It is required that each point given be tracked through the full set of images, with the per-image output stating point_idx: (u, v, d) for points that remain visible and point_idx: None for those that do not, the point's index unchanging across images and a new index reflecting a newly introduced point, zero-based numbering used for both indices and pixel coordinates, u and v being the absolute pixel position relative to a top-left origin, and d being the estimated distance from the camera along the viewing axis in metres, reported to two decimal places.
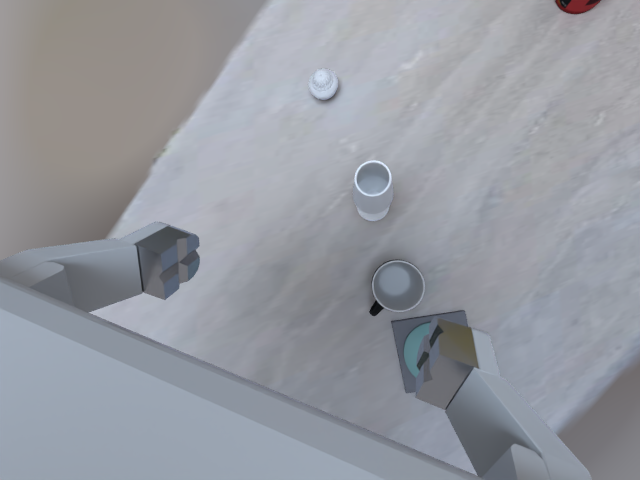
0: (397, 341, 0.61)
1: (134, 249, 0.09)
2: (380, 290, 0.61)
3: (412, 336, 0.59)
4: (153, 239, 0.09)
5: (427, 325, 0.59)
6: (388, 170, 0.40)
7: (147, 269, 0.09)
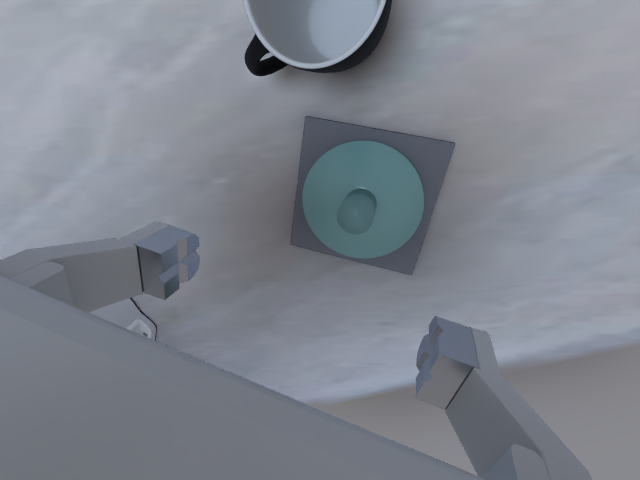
0: (303, 158, 0.31)
1: (134, 249, 0.09)
2: (301, 31, 0.26)
3: (330, 156, 0.29)
4: (153, 239, 0.09)
5: (367, 144, 0.28)
6: None
7: (147, 269, 0.09)
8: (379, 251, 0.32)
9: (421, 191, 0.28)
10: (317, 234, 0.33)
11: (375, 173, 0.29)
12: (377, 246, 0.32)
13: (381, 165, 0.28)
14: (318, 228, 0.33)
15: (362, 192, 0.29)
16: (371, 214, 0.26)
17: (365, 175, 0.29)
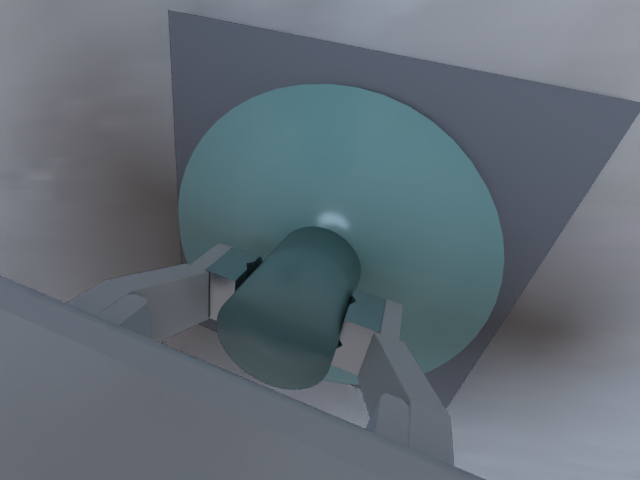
0: (182, 135, 0.12)
1: (205, 275, 0.09)
2: None
3: (232, 132, 0.10)
4: (223, 264, 0.09)
5: (334, 97, 0.09)
6: None
7: (217, 295, 0.09)
8: None
9: (497, 252, 0.09)
10: None
11: (359, 188, 0.10)
12: None
13: (378, 164, 0.09)
14: None
15: (316, 244, 0.09)
16: (325, 346, 0.07)
17: (329, 191, 0.10)
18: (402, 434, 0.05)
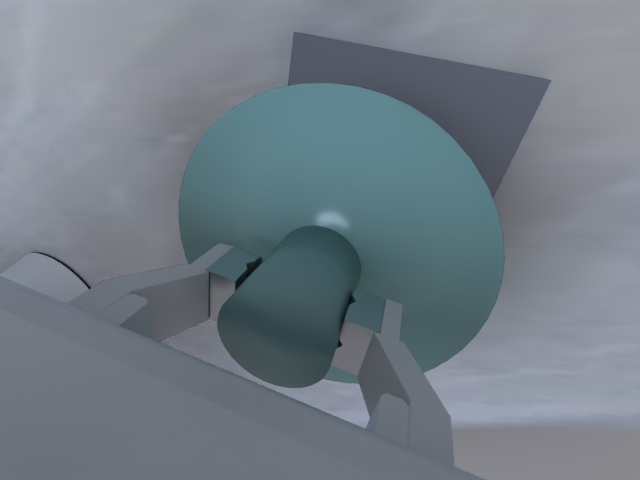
0: None
1: (206, 275, 0.09)
2: None
3: (233, 131, 0.10)
4: (223, 264, 0.09)
5: (335, 96, 0.09)
6: None
7: (217, 295, 0.09)
8: None
9: (497, 251, 0.09)
10: None
11: (360, 187, 0.10)
12: None
13: (378, 163, 0.09)
14: None
15: (317, 243, 0.10)
16: (326, 344, 0.07)
17: (329, 190, 0.10)
18: (402, 434, 0.05)
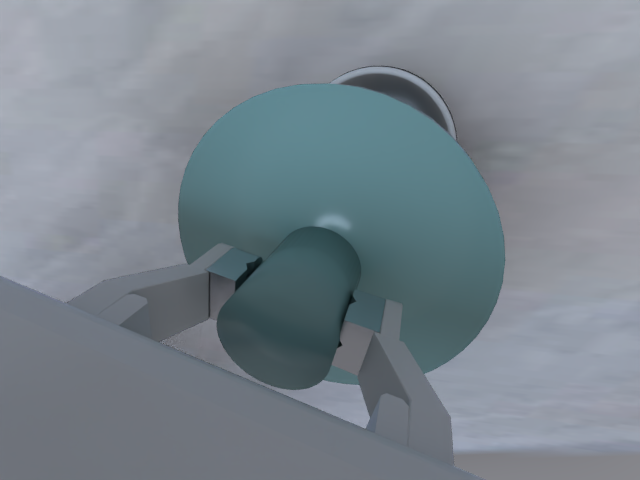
0: None
1: (206, 275, 0.09)
2: None
3: (232, 132, 0.10)
4: (223, 264, 0.09)
5: (335, 97, 0.09)
6: None
7: (217, 295, 0.09)
8: None
9: (498, 252, 0.09)
10: None
11: (359, 187, 0.10)
12: None
13: (378, 164, 0.09)
14: None
15: (317, 244, 0.09)
16: (325, 346, 0.07)
17: (329, 191, 0.10)
18: (402, 434, 0.05)
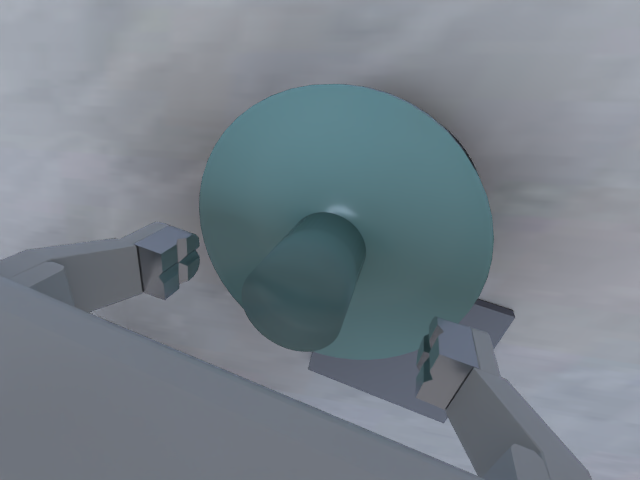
0: None
1: (135, 249, 0.09)
2: None
3: (251, 128, 0.11)
4: (153, 239, 0.09)
5: (343, 96, 0.10)
6: None
7: (147, 269, 0.09)
8: (371, 350, 0.14)
9: (487, 232, 0.10)
10: (240, 299, 0.15)
11: (365, 176, 0.11)
12: (366, 340, 0.14)
13: (381, 155, 0.10)
14: (240, 289, 0.15)
15: (327, 226, 0.11)
16: (337, 309, 0.09)
17: (337, 180, 0.11)
18: None
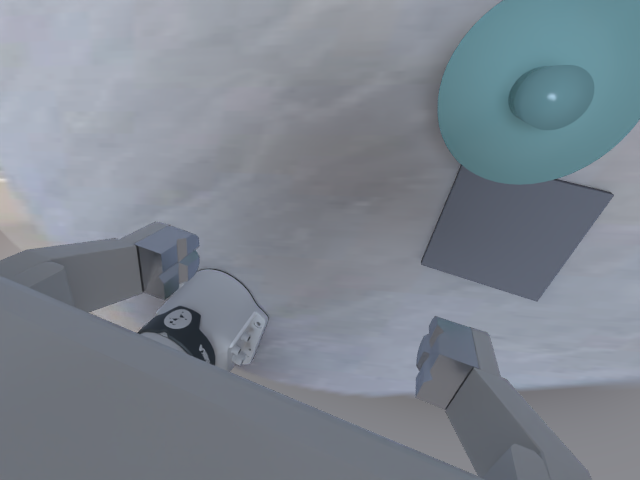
0: (453, 194, 0.34)
1: (134, 249, 0.09)
2: None
3: (504, 11, 0.18)
4: (153, 239, 0.09)
5: None
6: None
7: (147, 269, 0.09)
8: (549, 173, 0.22)
9: None
10: (452, 147, 0.23)
11: (580, 36, 0.18)
12: (548, 165, 0.21)
13: (596, 19, 0.17)
14: (455, 138, 0.22)
15: None
16: (591, 91, 0.16)
17: (559, 41, 0.18)
18: None
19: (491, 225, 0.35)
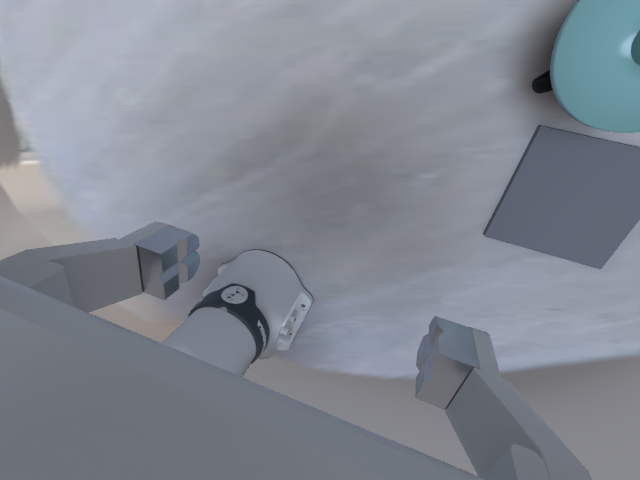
0: (525, 162, 0.35)
1: (134, 249, 0.09)
2: None
3: None
4: (153, 239, 0.09)
5: None
6: None
7: (147, 269, 0.09)
8: None
9: None
10: (565, 97, 0.24)
11: None
12: None
13: None
14: (570, 88, 0.23)
15: None
16: None
17: None
18: None
19: (561, 192, 0.36)
